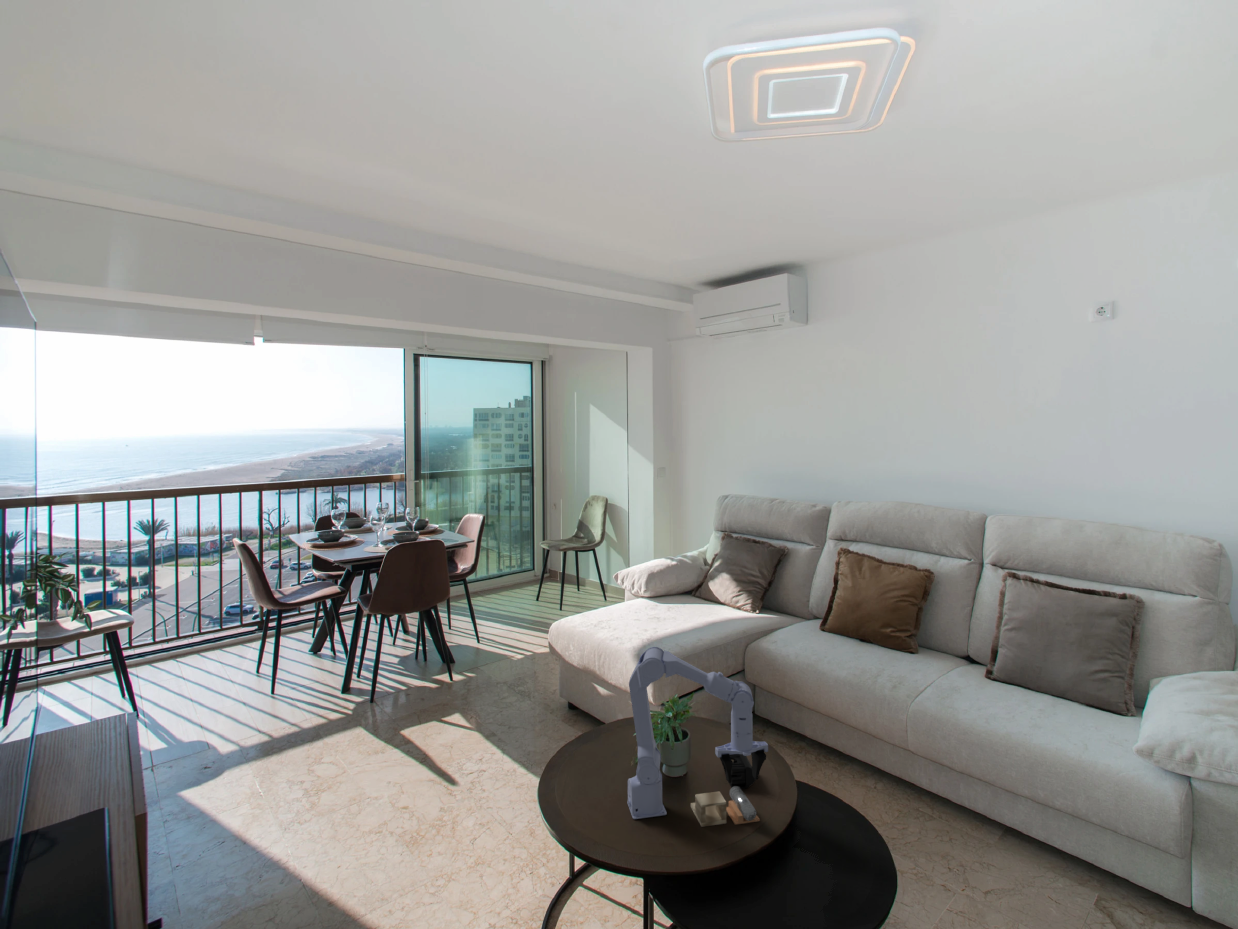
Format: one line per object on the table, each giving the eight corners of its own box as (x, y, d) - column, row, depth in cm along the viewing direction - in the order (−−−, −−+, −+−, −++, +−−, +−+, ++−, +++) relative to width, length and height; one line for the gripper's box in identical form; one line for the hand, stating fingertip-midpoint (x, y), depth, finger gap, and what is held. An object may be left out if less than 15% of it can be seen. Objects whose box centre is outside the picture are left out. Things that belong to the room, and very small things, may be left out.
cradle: (734, 824, 158) (734, 816, 158) (725, 809, 165) (725, 801, 165) (759, 821, 160) (759, 813, 160) (748, 805, 166) (748, 798, 166)
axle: (757, 818, 157) (755, 805, 157) (744, 822, 157) (742, 809, 157) (742, 796, 167) (740, 784, 167) (730, 800, 167) (728, 788, 166)
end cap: (756, 789, 174) (756, 766, 174) (732, 790, 174) (732, 767, 174) (746, 771, 184) (746, 749, 184) (724, 772, 184) (723, 750, 184)
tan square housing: (701, 826, 158) (701, 805, 157) (690, 806, 166) (690, 786, 166) (726, 823, 159) (726, 802, 159) (714, 803, 168) (714, 783, 168)
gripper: (721, 740, 156) (722, 790, 157) (773, 734, 159) (773, 784, 160) (712, 727, 163) (712, 776, 164) (761, 722, 166) (762, 770, 166)
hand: (741, 779), depth 162 cm, fingers open, 7 cm apart
